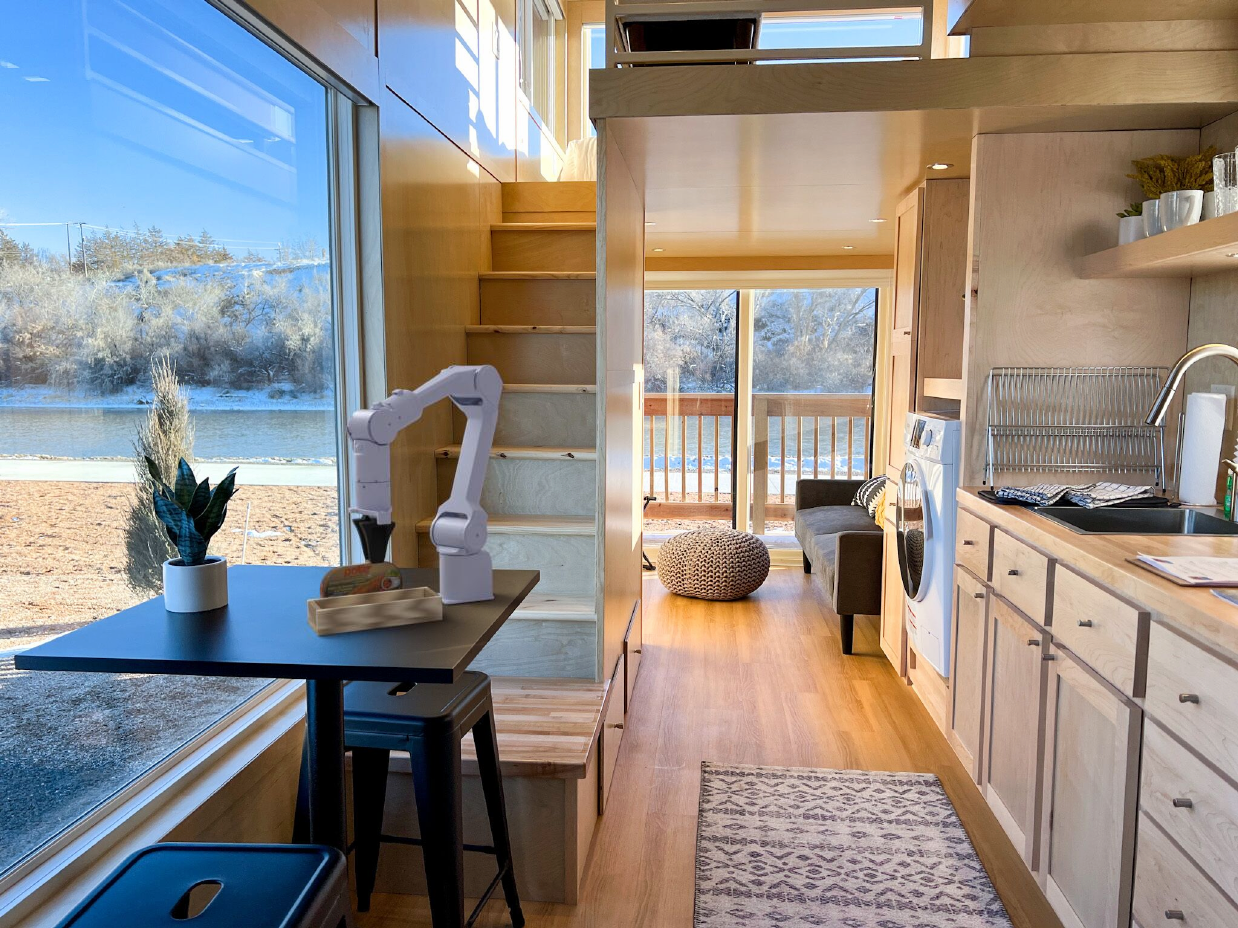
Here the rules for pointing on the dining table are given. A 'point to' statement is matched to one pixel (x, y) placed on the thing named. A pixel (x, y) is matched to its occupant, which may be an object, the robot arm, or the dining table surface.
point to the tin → (361, 579)
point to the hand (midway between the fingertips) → (374, 561)
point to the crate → (373, 610)
